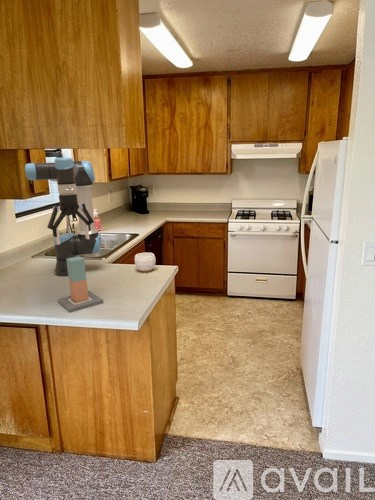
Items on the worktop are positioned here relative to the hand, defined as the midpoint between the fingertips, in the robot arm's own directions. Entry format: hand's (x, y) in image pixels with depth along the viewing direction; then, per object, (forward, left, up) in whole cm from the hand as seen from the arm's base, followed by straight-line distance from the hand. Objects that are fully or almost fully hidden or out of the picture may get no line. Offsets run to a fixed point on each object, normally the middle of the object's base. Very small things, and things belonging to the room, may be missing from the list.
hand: (73, 241), depth 161 cm
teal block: (0, 0, -18) cm, 18 cm away
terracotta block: (0, 0, -28) cm, 28 cm away
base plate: (0, 0, -30) cm, 30 cm away
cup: (-21, +49, -30) cm, 61 cm away
